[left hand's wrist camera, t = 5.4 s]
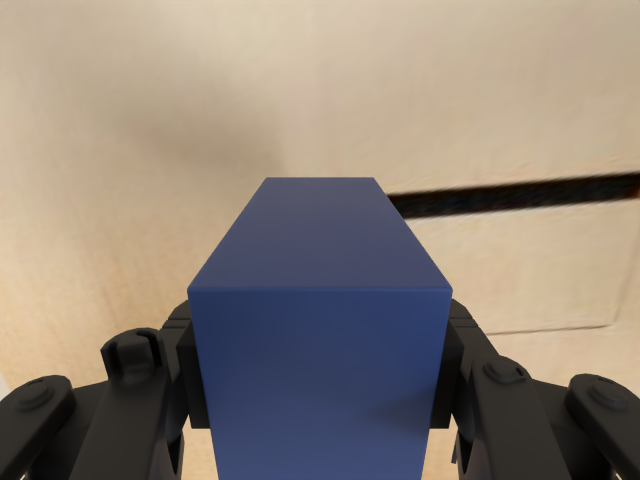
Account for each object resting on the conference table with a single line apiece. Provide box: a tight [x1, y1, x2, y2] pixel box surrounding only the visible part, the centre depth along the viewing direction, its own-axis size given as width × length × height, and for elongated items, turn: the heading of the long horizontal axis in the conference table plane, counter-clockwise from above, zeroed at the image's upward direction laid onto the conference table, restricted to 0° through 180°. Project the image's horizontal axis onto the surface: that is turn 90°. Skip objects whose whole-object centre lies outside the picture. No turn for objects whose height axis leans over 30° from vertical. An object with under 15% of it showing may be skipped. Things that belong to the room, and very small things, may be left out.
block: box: [187, 178, 453, 480], centre depth 13 cm, size 5×6×11 cm
